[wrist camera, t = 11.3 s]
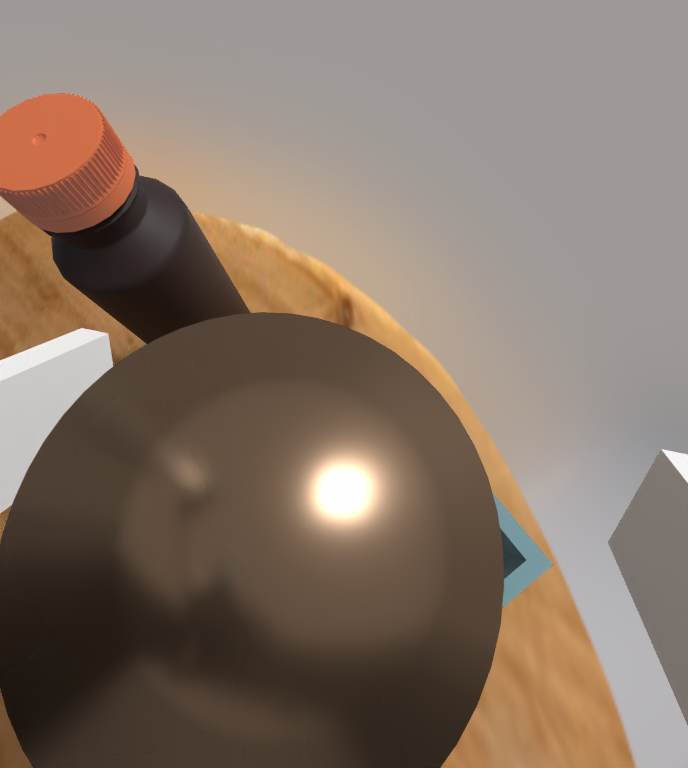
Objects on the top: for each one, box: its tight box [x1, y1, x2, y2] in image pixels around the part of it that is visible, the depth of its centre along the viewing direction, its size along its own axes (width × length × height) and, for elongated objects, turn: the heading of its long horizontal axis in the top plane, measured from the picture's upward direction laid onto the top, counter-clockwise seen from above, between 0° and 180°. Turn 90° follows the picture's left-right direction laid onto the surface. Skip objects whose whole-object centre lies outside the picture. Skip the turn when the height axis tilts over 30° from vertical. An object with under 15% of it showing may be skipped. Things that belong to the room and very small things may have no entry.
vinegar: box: [0, 93, 250, 344], centre depth 25 cm, size 7×7×20 cm
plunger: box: [0, 312, 504, 768], centre depth 16 cm, size 8×8×25 cm
